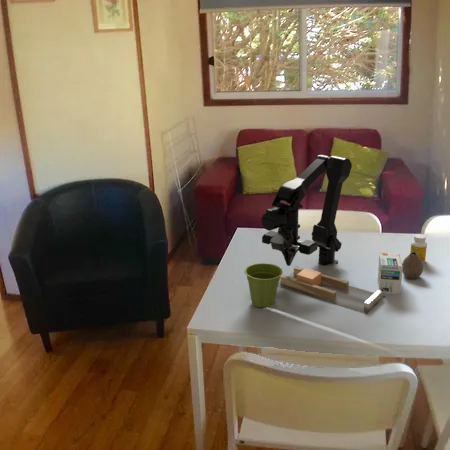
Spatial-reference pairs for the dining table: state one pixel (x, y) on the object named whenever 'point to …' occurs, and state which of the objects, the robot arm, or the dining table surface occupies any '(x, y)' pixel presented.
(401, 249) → the dining table surface
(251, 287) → the plant pot
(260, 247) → the dining table surface
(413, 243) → the supplement bottle
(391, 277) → the light bulb box
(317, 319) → the dining table surface
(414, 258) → the vase
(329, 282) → the chute
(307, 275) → the orange block
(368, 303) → the stop bar
